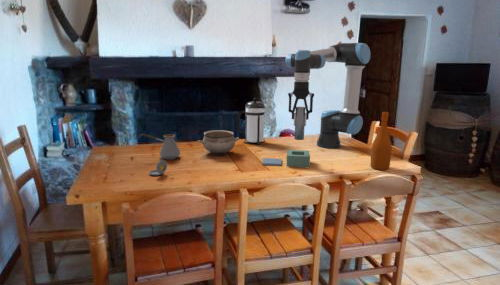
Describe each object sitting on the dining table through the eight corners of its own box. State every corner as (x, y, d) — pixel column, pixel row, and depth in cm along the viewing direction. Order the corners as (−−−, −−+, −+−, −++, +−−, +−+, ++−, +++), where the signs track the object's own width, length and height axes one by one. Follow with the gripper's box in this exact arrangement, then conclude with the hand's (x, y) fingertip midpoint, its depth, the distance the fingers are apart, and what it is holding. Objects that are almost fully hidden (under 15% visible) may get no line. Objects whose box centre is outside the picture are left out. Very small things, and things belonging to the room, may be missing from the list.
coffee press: (260, 139, 253) (261, 96, 246) (268, 144, 238) (270, 98, 231) (236, 140, 248) (236, 96, 241) (243, 146, 233) (244, 99, 226)
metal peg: (303, 138, 197) (305, 106, 193) (304, 140, 192) (305, 108, 188) (294, 137, 197) (295, 106, 193) (294, 139, 192) (295, 107, 188)
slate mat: (281, 160, 203) (281, 158, 203) (280, 165, 194) (280, 164, 193) (263, 159, 204) (263, 158, 204) (262, 164, 195) (262, 163, 194)
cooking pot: (201, 159, 203) (201, 138, 200) (194, 151, 220) (194, 131, 217) (244, 155, 211) (244, 135, 208) (234, 148, 229) (234, 129, 226)
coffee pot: (178, 154, 213) (178, 129, 209) (182, 159, 202) (181, 133, 199) (140, 157, 206) (139, 131, 202) (142, 162, 195) (140, 135, 192)
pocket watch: (150, 171, 181) (149, 152, 179) (168, 171, 182) (167, 152, 179) (147, 177, 173) (146, 157, 171) (165, 177, 174) (164, 157, 171)
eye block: (308, 161, 203) (308, 150, 201) (309, 167, 191) (310, 156, 190) (286, 160, 204) (287, 149, 203) (286, 166, 192) (286, 155, 191)
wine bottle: (390, 171, 187) (397, 113, 180) (370, 170, 189) (376, 112, 182) (387, 165, 196) (393, 110, 189) (368, 164, 198) (374, 109, 191)
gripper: (284, 81, 184) (282, 126, 190) (320, 81, 183) (317, 127, 188) (284, 80, 192) (282, 123, 197) (318, 80, 190) (316, 124, 195)
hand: (299, 125), depth 193 cm, fingers closed on metal peg, 5 cm apart
